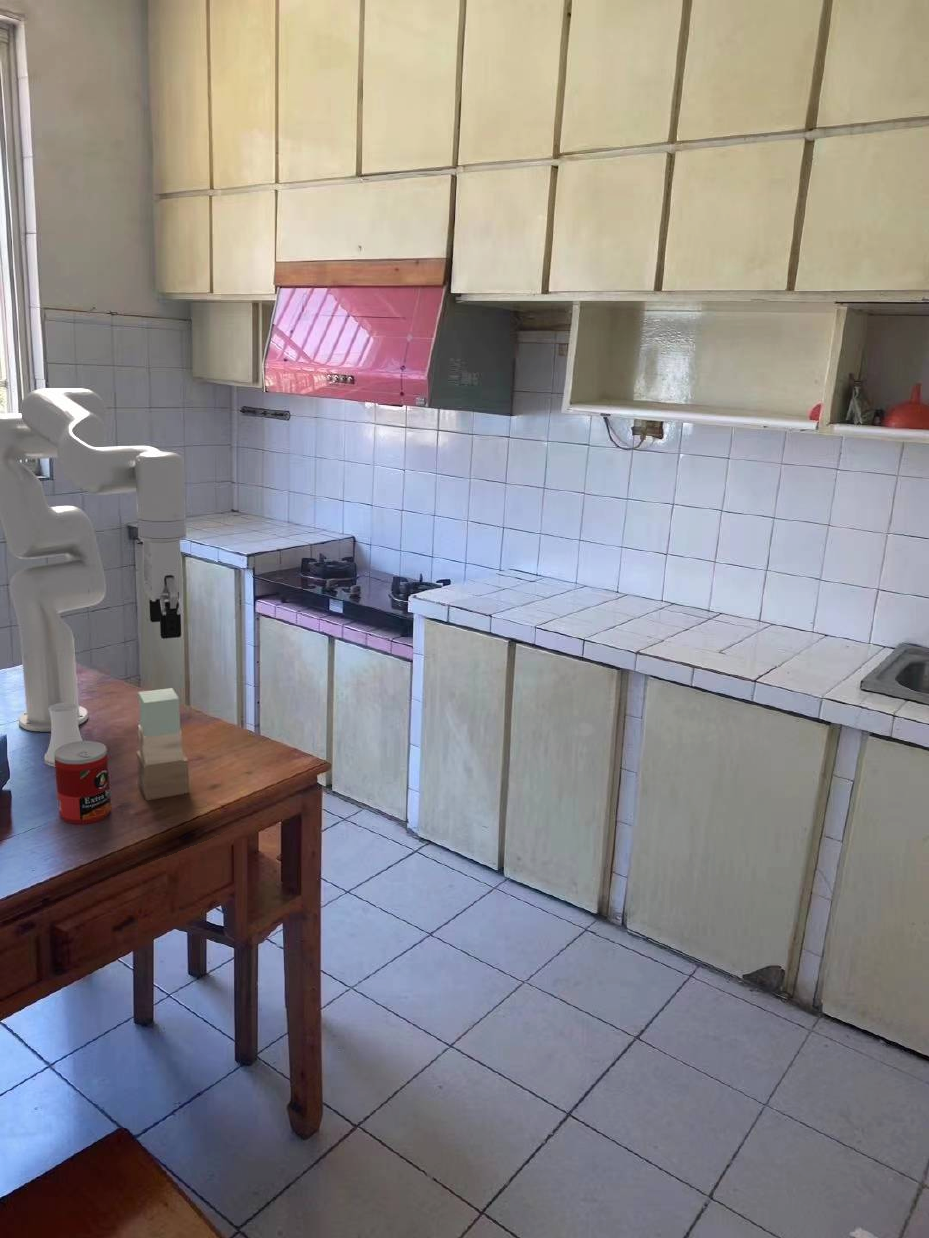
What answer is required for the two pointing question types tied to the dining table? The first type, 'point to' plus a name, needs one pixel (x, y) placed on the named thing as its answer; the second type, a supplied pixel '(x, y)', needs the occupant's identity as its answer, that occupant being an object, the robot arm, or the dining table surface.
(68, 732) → the vase
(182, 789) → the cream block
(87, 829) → the dining table surface
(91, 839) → the dining table surface
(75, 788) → the canned food
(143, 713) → the sage block
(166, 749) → the beech block
